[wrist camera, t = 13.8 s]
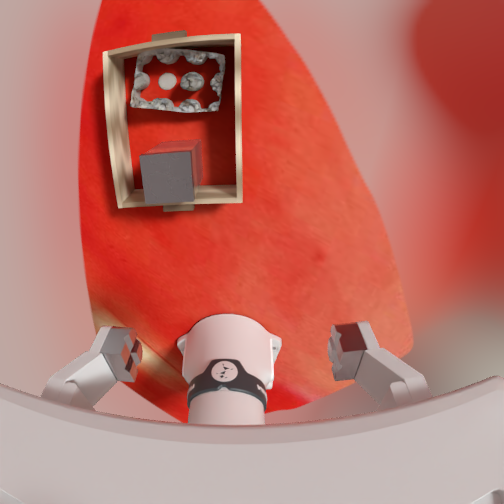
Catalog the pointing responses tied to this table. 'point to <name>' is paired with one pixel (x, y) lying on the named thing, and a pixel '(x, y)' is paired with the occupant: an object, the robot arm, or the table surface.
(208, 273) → the table surface
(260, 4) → the table surface
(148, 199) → the tin
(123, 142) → the tote
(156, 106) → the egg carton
